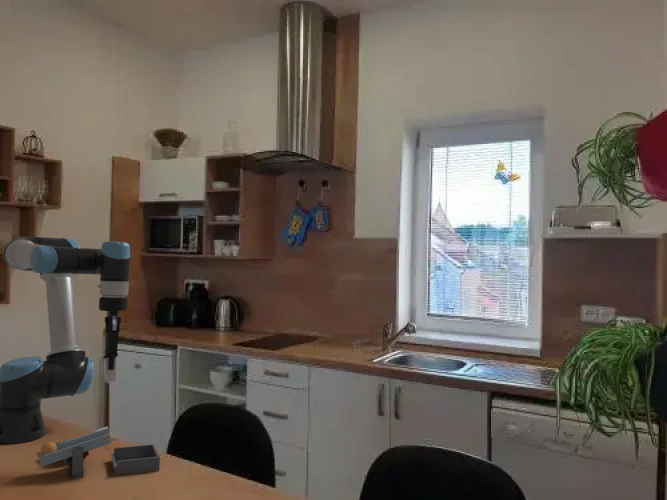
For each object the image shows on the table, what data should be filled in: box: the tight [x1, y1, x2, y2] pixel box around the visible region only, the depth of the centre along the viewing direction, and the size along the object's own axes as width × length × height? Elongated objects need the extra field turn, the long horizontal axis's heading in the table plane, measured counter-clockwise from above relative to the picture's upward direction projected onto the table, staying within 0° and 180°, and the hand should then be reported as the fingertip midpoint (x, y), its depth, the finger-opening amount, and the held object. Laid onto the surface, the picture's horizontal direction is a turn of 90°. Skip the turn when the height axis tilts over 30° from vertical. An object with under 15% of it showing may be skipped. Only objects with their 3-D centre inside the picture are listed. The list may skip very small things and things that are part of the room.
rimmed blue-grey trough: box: [38, 426, 112, 468], centre depth 148 cm, size 12×17×2 cm
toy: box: [54, 437, 90, 466], centre depth 156 cm, size 9×6×15 cm
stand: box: [69, 447, 84, 479], centre depth 145 cm, size 9×3×7 cm, turn 25°
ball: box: [40, 441, 57, 455], centre depth 142 cm, size 4×4×4 cm
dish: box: [110, 443, 161, 476], centre depth 151 cm, size 11×11×4 cm
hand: (109, 380), depth 157 cm, fingers closed
